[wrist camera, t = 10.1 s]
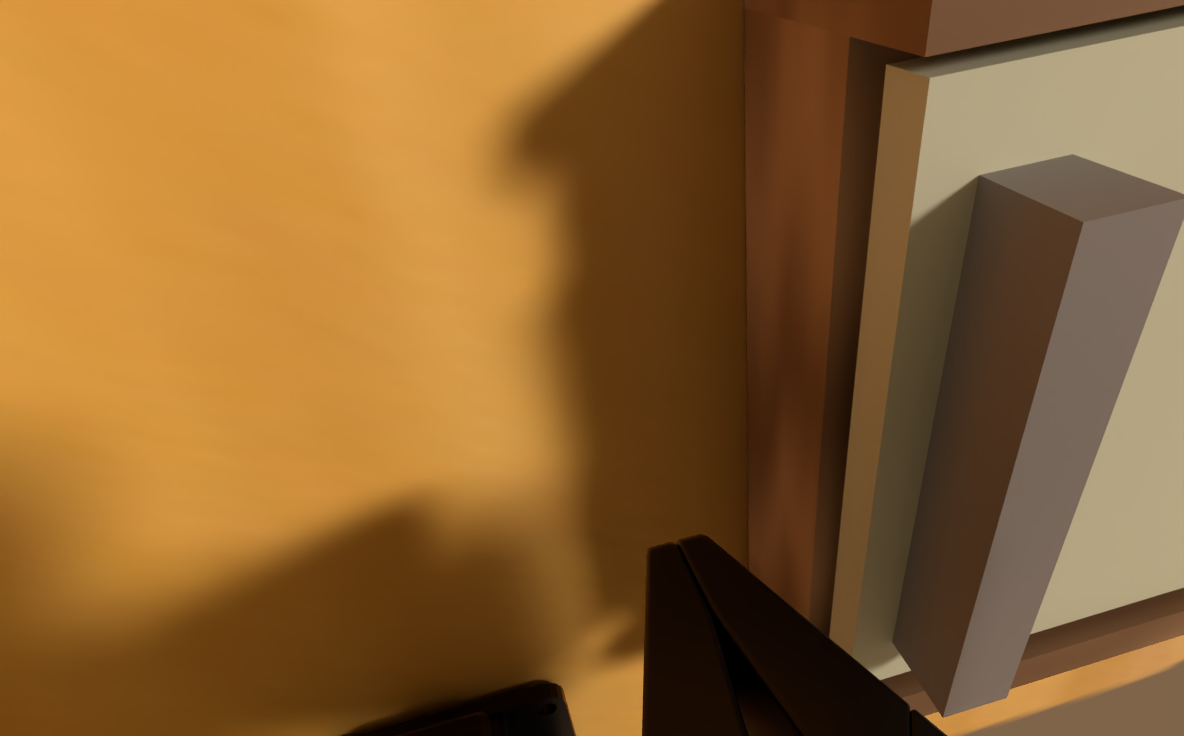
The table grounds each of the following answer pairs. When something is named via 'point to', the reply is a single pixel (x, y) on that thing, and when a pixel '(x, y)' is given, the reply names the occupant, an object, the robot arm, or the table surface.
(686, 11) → the table surface
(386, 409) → the table surface
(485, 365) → the table surface
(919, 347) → the cream cabinet door
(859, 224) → the wooden tray
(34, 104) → the table surface
